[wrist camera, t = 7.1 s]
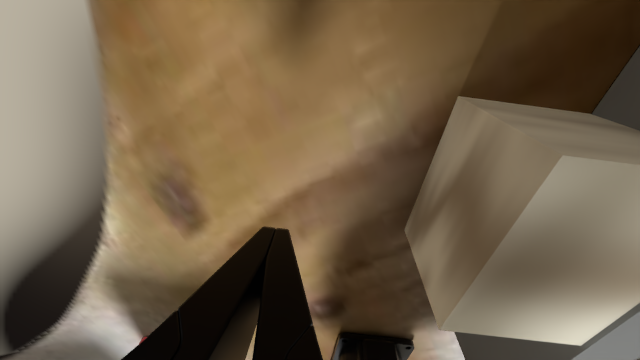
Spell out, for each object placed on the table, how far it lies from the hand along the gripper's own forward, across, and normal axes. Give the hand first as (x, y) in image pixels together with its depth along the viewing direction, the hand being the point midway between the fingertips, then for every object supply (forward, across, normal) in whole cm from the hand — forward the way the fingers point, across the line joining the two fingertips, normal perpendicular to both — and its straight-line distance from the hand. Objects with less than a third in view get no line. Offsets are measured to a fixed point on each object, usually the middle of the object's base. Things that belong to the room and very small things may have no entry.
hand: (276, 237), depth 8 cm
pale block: (+6, -10, 0) cm, 11 cm away
